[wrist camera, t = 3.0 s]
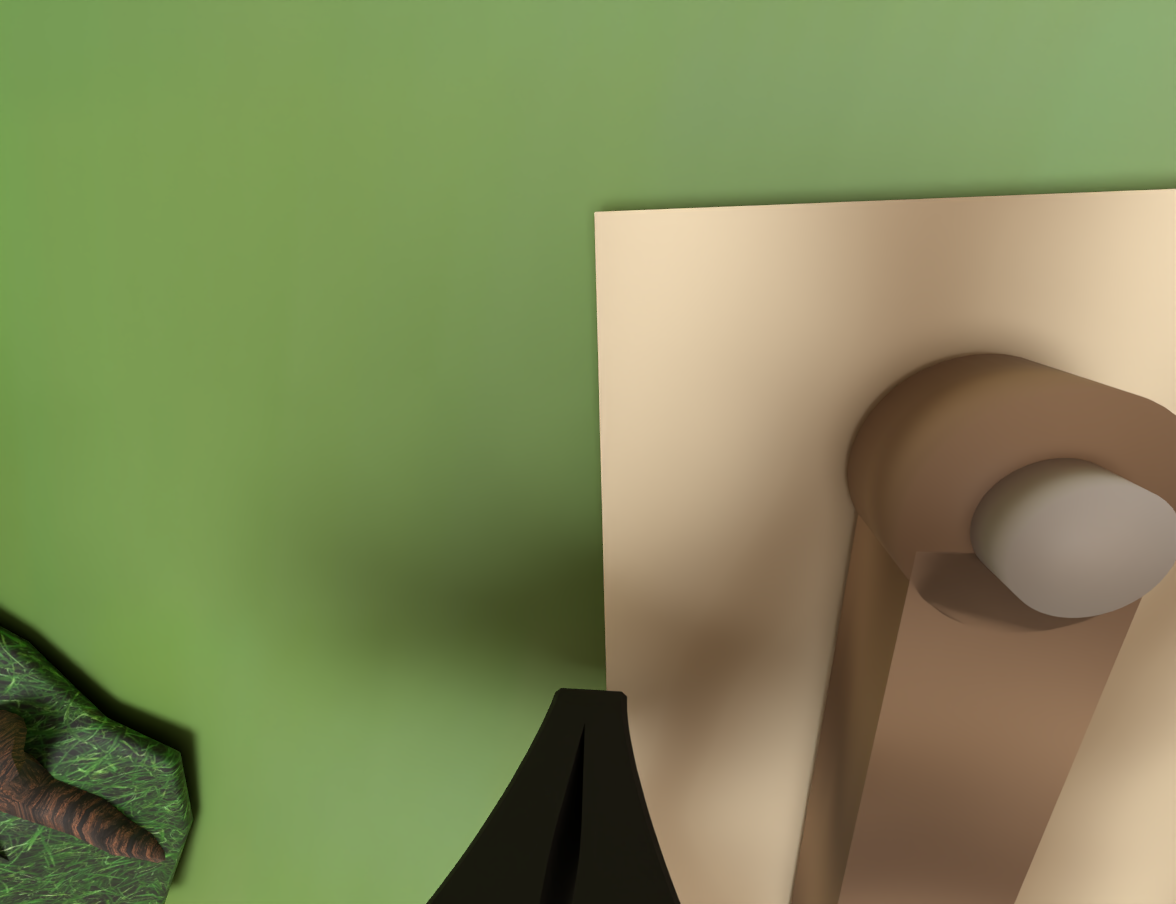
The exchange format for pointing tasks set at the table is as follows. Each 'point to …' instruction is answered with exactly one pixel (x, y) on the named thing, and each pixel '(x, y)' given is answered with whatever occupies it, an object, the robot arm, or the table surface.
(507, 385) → the table surface
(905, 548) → the latch bar
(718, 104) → the table surface
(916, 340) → the base board
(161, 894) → the bonsai tree
